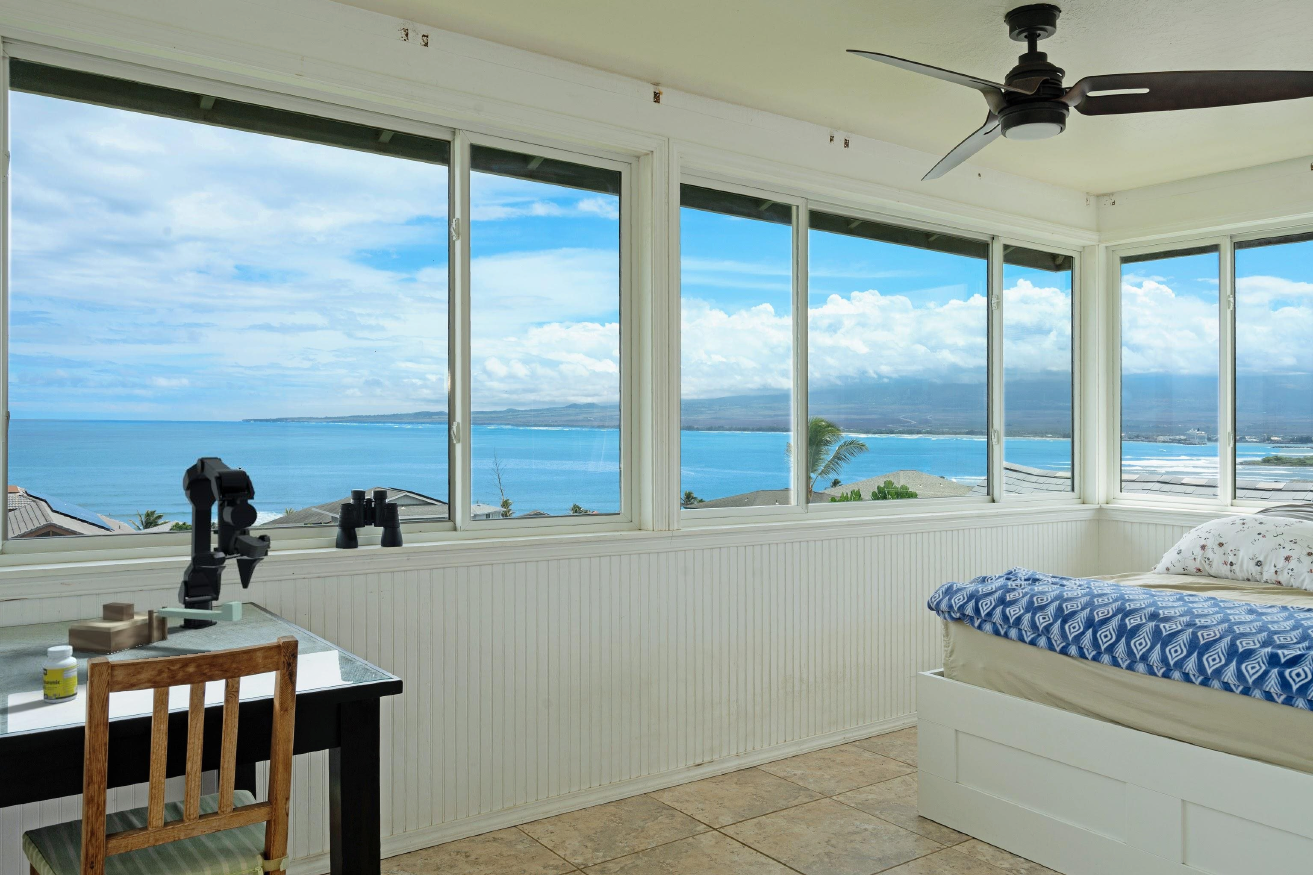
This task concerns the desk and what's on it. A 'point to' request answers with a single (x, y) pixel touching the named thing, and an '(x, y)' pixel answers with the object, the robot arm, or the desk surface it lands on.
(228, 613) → the key
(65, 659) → the supplement bottle
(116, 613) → the lid
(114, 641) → the box
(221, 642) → the desk surface
